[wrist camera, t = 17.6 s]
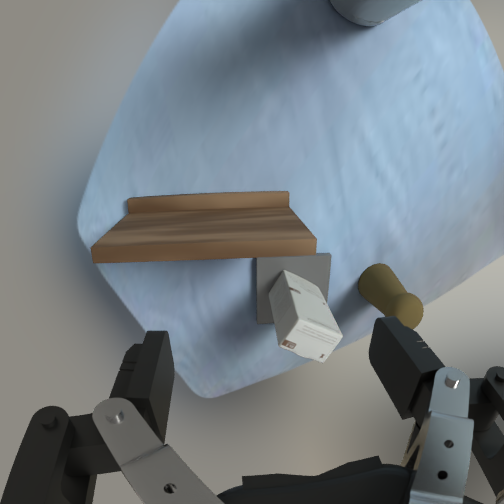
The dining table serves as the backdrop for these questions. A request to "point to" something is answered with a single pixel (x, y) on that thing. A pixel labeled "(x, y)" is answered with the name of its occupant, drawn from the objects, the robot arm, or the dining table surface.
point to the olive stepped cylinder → (390, 295)
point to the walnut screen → (206, 228)
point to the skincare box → (303, 318)
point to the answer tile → (302, 266)
